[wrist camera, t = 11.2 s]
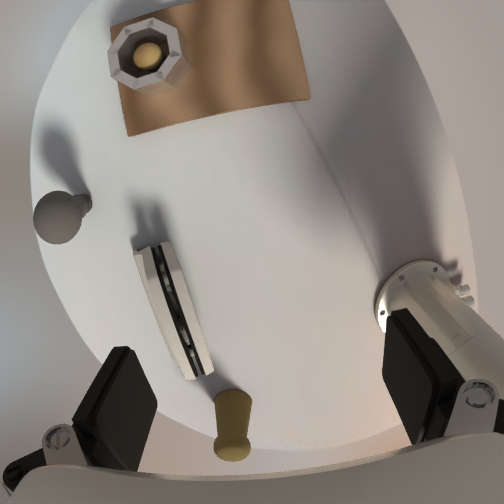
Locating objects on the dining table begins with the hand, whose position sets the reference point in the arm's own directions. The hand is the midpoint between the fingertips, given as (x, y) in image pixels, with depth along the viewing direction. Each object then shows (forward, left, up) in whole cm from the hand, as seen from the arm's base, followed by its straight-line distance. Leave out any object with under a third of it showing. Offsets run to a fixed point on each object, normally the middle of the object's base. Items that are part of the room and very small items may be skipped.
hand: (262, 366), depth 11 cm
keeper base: (+1, -18, -27) cm, 32 cm away
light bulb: (+19, -5, -27) cm, 33 cm away
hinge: (+11, +11, -27) cm, 31 cm away
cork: (+9, +30, -27) cm, 41 cm away
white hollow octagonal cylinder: (+6, -18, -25) cm, 31 cm away
